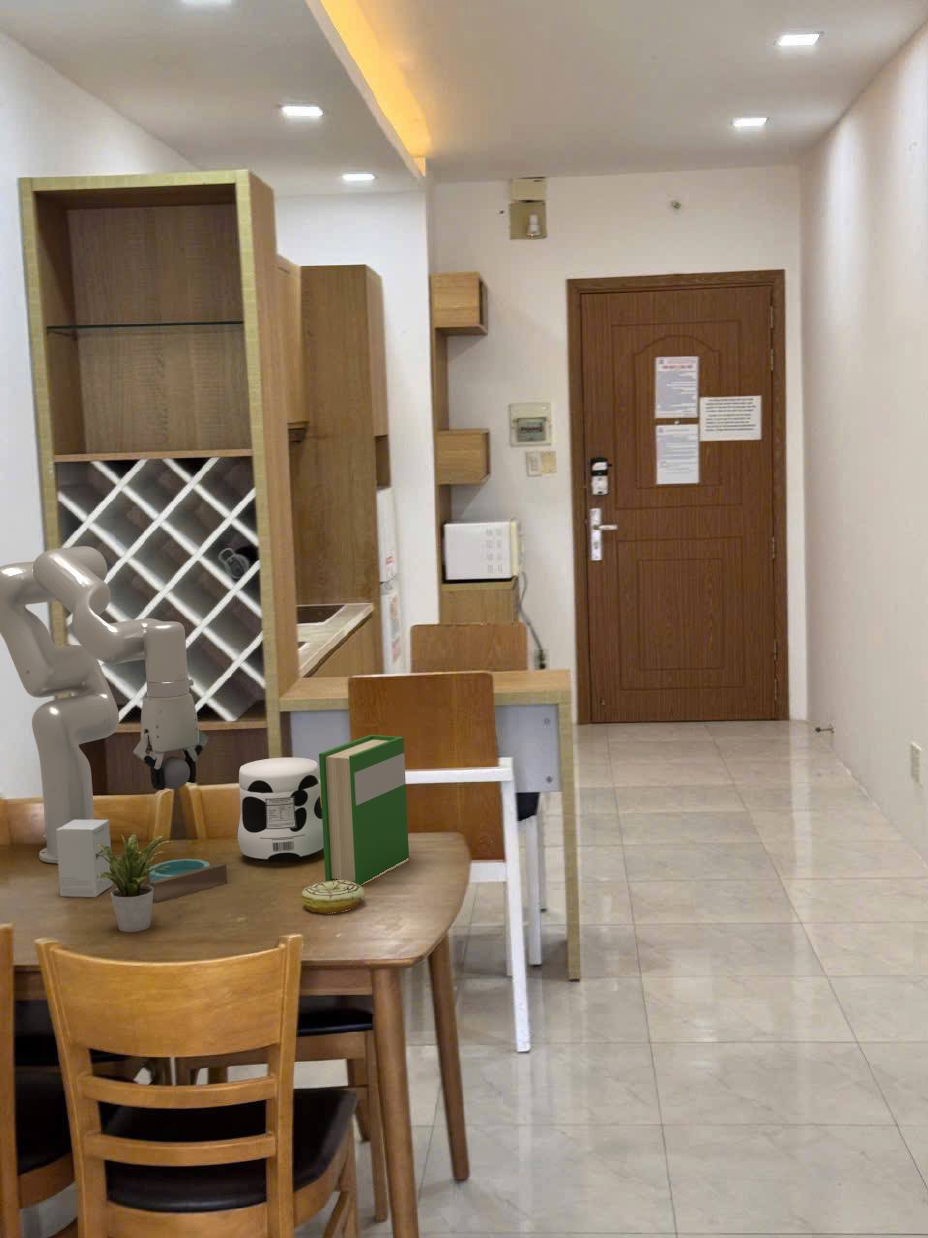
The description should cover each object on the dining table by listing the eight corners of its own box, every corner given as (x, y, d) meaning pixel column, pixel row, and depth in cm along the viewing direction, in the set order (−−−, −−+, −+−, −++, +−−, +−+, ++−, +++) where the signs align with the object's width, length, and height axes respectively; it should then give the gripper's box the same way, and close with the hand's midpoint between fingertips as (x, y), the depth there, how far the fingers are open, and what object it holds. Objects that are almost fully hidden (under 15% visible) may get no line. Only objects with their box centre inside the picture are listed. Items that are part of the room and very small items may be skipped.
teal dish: (138, 881, 270) (137, 869, 270) (189, 867, 278) (188, 855, 277) (170, 892, 262) (169, 880, 262) (221, 878, 270) (220, 866, 270)
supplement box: (97, 898, 261) (92, 829, 259) (59, 897, 262) (54, 829, 261) (114, 885, 268) (110, 818, 267) (77, 884, 270) (73, 818, 268)
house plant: (195, 930, 241) (189, 834, 239) (115, 948, 234) (108, 849, 232) (164, 909, 253) (158, 817, 251) (86, 925, 245) (79, 831, 244)
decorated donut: (376, 904, 252) (376, 883, 251) (330, 920, 244) (329, 899, 243) (336, 893, 259) (335, 872, 258) (290, 908, 251) (289, 887, 251)
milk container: (290, 839, 295) (285, 752, 293) (346, 853, 283) (341, 763, 281) (220, 858, 283) (215, 768, 281) (276, 874, 271) (271, 780, 269)
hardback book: (360, 887, 261) (353, 756, 258) (325, 882, 265) (318, 753, 262) (409, 860, 277) (403, 737, 274) (376, 856, 280) (370, 734, 277)
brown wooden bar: (151, 901, 258) (150, 882, 257) (222, 881, 268) (221, 863, 267) (156, 903, 257) (155, 883, 256) (227, 883, 267) (226, 864, 266)
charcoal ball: (151, 789, 268) (149, 757, 267) (179, 783, 272) (177, 752, 271) (169, 794, 264) (167, 761, 263) (197, 787, 268) (195, 756, 267)
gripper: (196, 681, 274) (202, 774, 276) (115, 694, 263) (122, 791, 265) (219, 684, 269) (225, 779, 271) (137, 698, 257) (144, 797, 259)
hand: (174, 784), depth 268 cm, fingers closed on charcoal ball, 5 cm apart
